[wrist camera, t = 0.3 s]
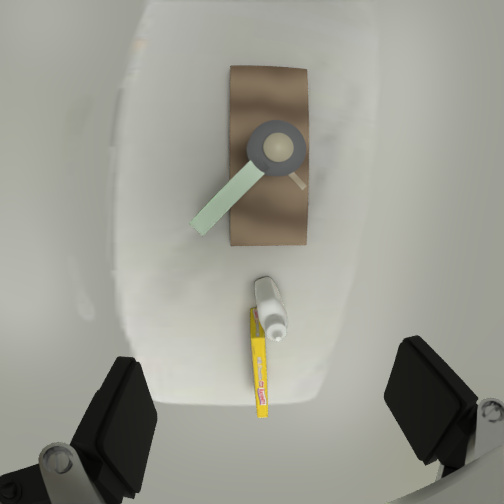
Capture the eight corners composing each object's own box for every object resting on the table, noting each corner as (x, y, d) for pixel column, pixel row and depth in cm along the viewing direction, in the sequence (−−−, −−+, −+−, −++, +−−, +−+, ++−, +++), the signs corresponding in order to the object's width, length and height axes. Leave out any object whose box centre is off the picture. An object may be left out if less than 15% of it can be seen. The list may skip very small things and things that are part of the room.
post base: (230, 70, 31) (230, 65, 29) (303, 73, 32) (307, 68, 30) (230, 242, 38) (230, 246, 36) (302, 241, 39) (306, 245, 37)
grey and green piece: (270, 119, 32) (278, 107, 25) (303, 153, 33) (319, 149, 26) (185, 204, 34) (173, 211, 27) (219, 236, 35) (216, 251, 29)
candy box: (247, 307, 41) (250, 338, 33) (262, 306, 41) (267, 336, 33) (254, 385, 46) (257, 419, 38) (265, 384, 46) (270, 417, 38)
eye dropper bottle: (286, 278, 40) (304, 319, 29) (277, 312, 42) (290, 360, 30) (256, 273, 40) (263, 314, 28) (249, 308, 41) (253, 357, 30)
